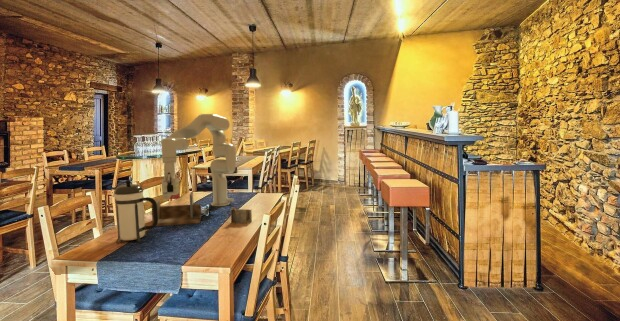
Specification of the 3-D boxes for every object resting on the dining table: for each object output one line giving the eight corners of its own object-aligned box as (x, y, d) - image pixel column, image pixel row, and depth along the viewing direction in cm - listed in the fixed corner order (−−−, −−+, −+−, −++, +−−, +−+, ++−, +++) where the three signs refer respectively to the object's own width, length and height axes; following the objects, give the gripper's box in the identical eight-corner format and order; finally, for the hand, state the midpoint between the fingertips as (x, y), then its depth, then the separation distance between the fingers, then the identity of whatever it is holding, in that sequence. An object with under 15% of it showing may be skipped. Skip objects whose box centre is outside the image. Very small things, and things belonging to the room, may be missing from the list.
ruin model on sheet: (231, 223, 204) (230, 206, 203) (232, 222, 207) (232, 205, 206) (250, 224, 202) (249, 207, 201) (251, 222, 205) (251, 206, 204)
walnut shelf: (201, 215, 219) (200, 196, 218) (199, 222, 204) (198, 202, 202) (157, 218, 213) (156, 199, 212) (152, 226, 198) (151, 205, 196)
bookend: (200, 214, 216) (199, 191, 214) (200, 218, 207) (199, 194, 205) (191, 214, 214) (190, 192, 213) (190, 218, 206) (189, 195, 204)
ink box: (180, 197, 208) (179, 177, 207) (176, 199, 204) (175, 179, 202) (166, 197, 209) (165, 177, 208) (162, 199, 204) (161, 178, 203)
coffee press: (123, 247, 165) (118, 184, 161) (110, 240, 175) (105, 180, 172) (159, 238, 178) (156, 179, 174) (145, 231, 188) (142, 175, 185)
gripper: (164, 158, 211) (166, 188, 213) (160, 161, 194) (161, 194, 197) (178, 158, 213) (179, 187, 215) (174, 161, 196) (176, 193, 198)
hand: (171, 190), depth 206 cm, fingers closed on ink box, 6 cm apart
